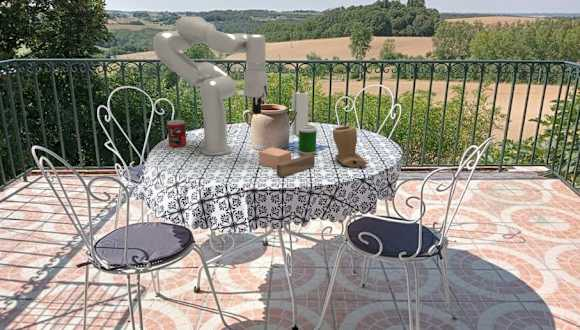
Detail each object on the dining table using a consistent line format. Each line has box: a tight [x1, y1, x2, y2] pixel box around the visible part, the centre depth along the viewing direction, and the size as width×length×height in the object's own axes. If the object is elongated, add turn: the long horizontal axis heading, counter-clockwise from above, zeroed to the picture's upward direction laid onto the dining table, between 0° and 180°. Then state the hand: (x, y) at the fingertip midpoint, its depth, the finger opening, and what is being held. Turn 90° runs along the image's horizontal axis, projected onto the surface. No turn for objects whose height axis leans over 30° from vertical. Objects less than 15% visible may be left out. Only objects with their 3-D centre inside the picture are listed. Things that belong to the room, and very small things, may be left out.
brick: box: [258, 146, 292, 170], centre depth 178 cm, size 10×8×6 cm
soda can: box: [298, 124, 318, 156], centre depth 190 cm, size 8×8×12 cm
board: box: [276, 154, 316, 178], centre depth 170 cm, size 3×18×4 cm, turn 136°
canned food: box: [166, 119, 187, 148], centre depth 202 cm, size 8×8×11 cm
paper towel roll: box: [291, 91, 310, 137], centre depth 220 cm, size 7×6×21 cm
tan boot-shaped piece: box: [332, 125, 368, 168], centre depth 178 cm, size 15×12×15 cm
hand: (256, 113), depth 179 cm, fingers closed
